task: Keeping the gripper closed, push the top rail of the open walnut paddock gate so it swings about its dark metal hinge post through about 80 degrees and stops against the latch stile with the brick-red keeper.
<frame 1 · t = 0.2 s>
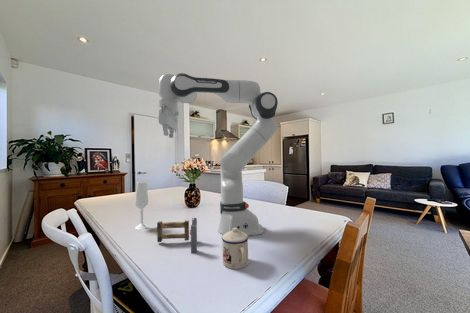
hand: (168, 136, 96), 47 cm above the table, fingers open, 8 cm apart
gate: (173, 231, 84), point 5 cm above the table, hinge at 0.0°
posts: (194, 241, 85), on the table
champagne flute: (141, 227, 105), on the table
teacup with lid: (237, 265, 66), on the table
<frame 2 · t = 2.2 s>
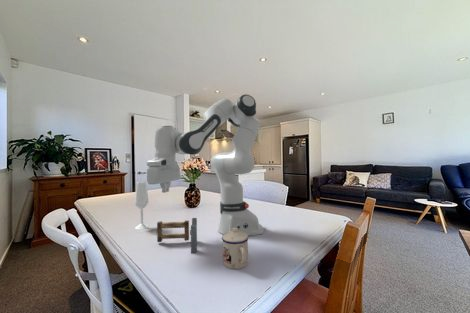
hand: (165, 192, 88), 21 cm above the table, fingers closed
nothing on the table moved.
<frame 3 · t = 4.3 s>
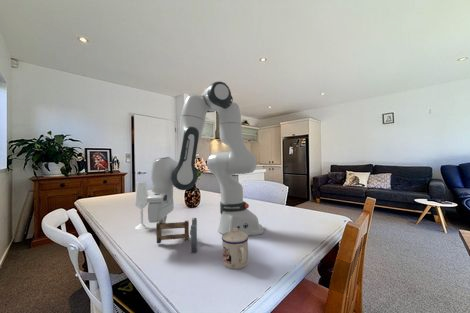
hand: (162, 226, 85), 7 cm above the table, fingers closed
gate: (172, 232, 83), point 5 cm above the table, hinge at 4.9°, touching gripper
everything else where it was.
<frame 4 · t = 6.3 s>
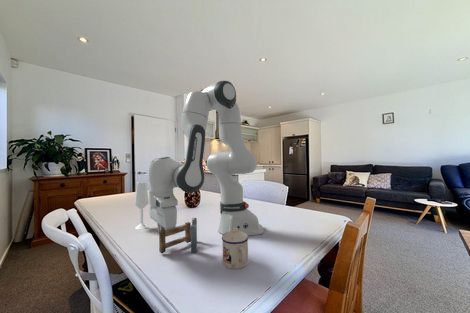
hand: (161, 234, 76), 7 cm above the table, fingers closed
gate: (175, 236, 78), point 5 cm above the table, hinge at 44.4°, touching gripper
everything else where it was.
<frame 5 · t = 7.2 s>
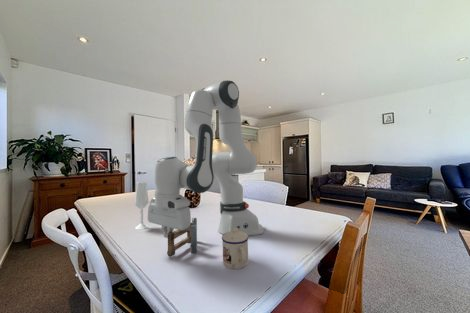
hand: (167, 237, 73), 7 cm above the table, fingers closed
gate: (181, 238, 76), point 5 cm above the table, hinge at 63.5°, touching gripper
everything else where it was.
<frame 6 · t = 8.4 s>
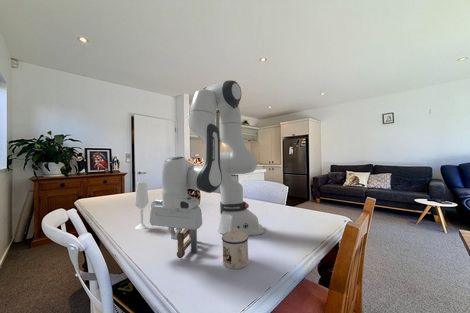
hand: (175, 239, 72), 7 cm above the table, fingers closed
gate: (186, 239, 76), point 5 cm above the table, hinge at 78.9°, touching gripper
everything else where it was.
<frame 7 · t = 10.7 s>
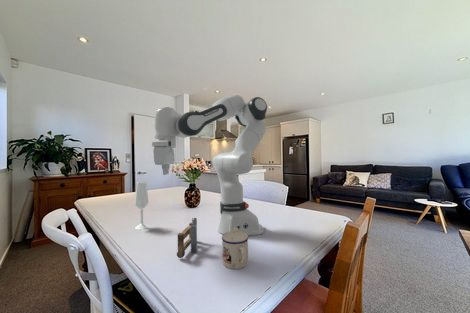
hand: (165, 174, 88), 29 cm above the table, fingers closed
gate: (186, 239, 76), point 5 cm above the table, hinge at 79.0°
everything else where it was.
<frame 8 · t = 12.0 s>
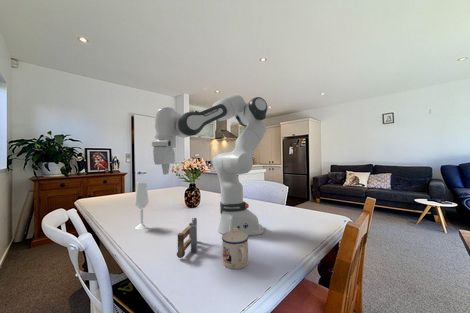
hand: (165, 174, 88), 29 cm above the table, fingers closed
nothing on the table moved.
at the end: gate at +79° (first picture: +0°); the gripper is holding nothing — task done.
